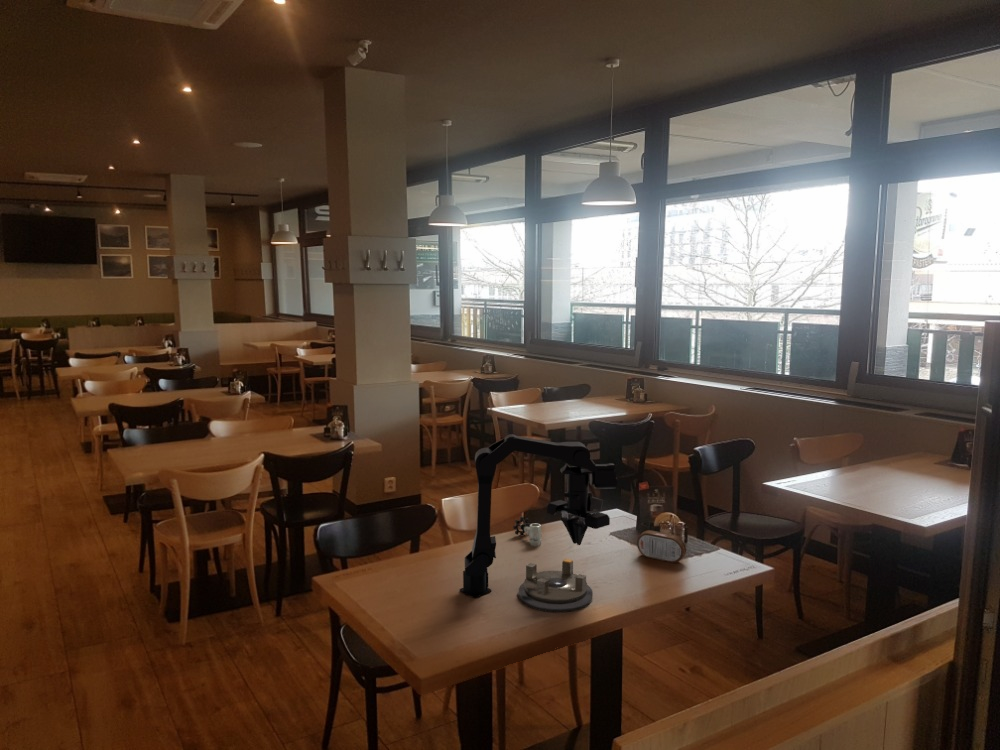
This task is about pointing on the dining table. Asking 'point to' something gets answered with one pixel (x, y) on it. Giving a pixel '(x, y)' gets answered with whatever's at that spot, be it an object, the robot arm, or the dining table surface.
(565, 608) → the base plate
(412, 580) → the dining table surface
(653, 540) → the tin
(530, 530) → the valve
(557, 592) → the round fixture plate
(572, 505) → the robot arm
